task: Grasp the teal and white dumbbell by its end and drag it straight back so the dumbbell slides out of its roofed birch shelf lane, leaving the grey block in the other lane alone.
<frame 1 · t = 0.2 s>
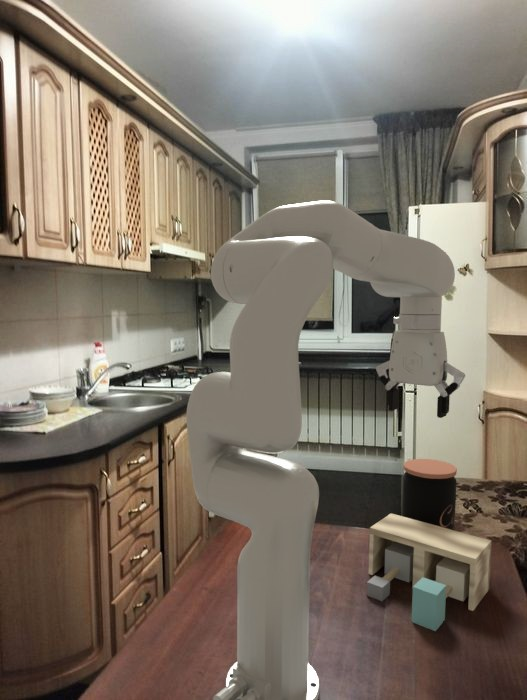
hand: (417, 413, 105), 31 cm above the table, fingers open, 9 cm apart
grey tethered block: (402, 573, 105), on the table
coffee jar: (426, 550, 115), on the table
birch shelf: (427, 581, 102), on the table
teal and white dumbbell: (454, 590, 99), on the table
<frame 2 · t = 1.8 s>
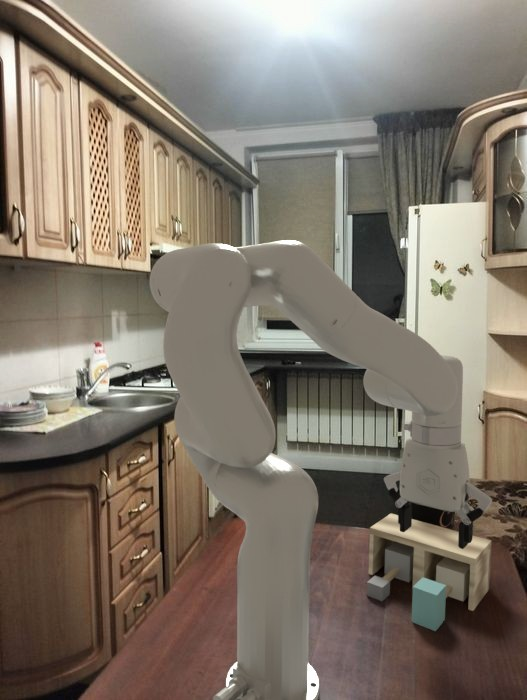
hand: (433, 537, 88), 14 cm above the table, fingers open, 9 cm apart
nothing on the table moved.
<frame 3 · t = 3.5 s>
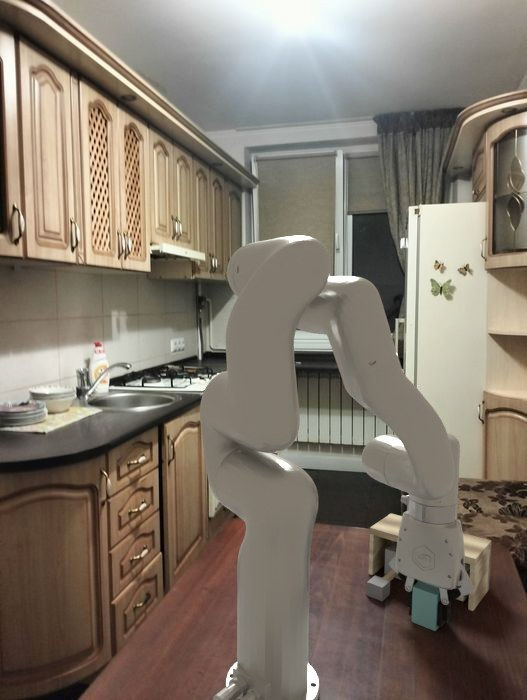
hand: (428, 616, 89), 1 cm above the table, fingers closed on teal and white dumbbell, 4 cm apart
teal and white dumbbell: (454, 590, 99), on the table, touching gripper
everything else where it was.
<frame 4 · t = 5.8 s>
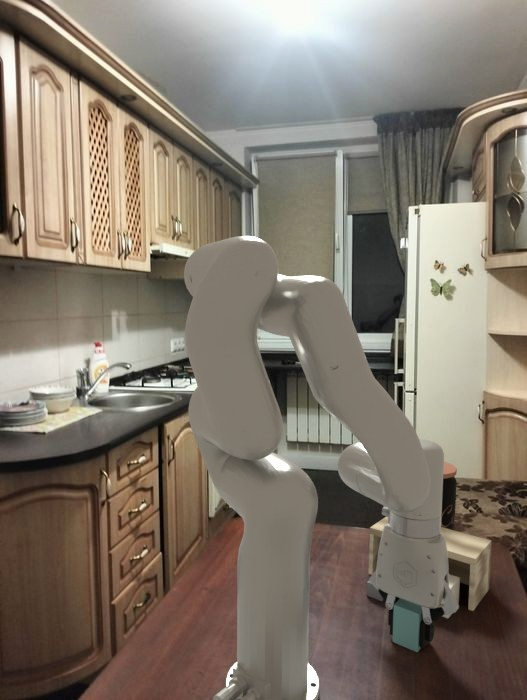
hand: (410, 636, 84), 1 cm above the table, fingers closed on teal and white dumbbell, 4 cm apart
teal and white dumbbell: (438, 606, 94), on the table, touching gripper
everything else where it was.
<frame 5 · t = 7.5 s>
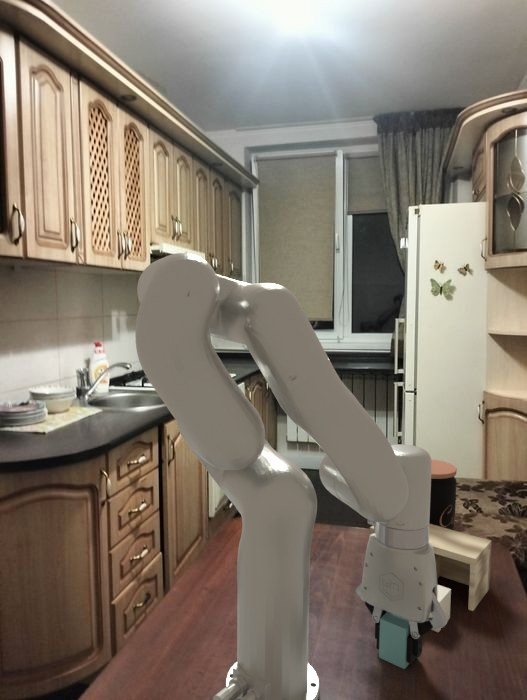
hand: (397, 650, 80), 1 cm above the table, fingers closed on teal and white dumbbell, 4 cm apart
teal and white dumbbell: (429, 619, 90), on the table, touching gripper
everything else where it was.
when the fingers open (1 cm above the table, at t = 8.1 s): teal and white dumbbell stays where it is, on the table.
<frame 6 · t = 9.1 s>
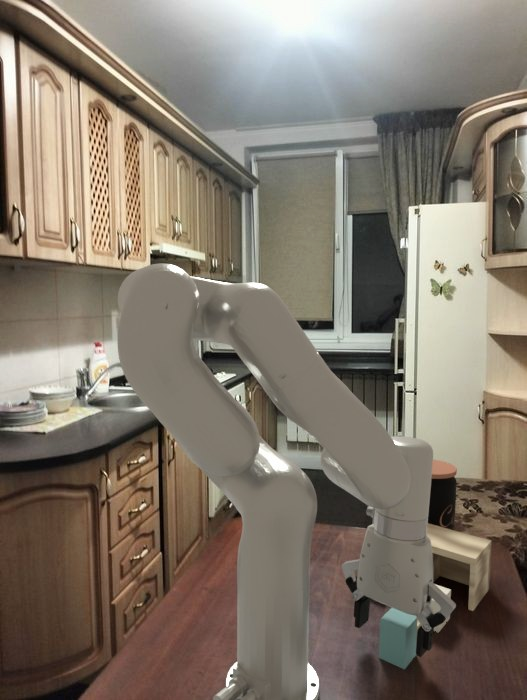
hand: (390, 637, 80), 3 cm above the table, fingers open, 9 cm apart
teal and white dumbbell: (429, 619, 90), on the table
everything else where it was.
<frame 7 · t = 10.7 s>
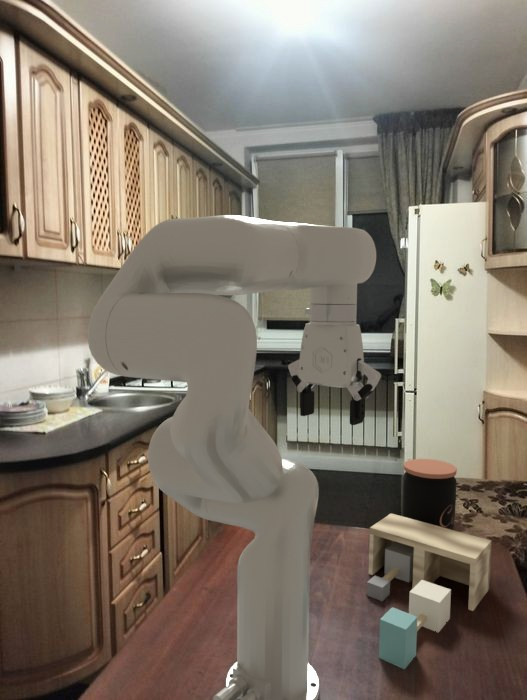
hand: (331, 419, 90), 33 cm above the table, fingers open, 9 cm apart
nothing on the table moved.
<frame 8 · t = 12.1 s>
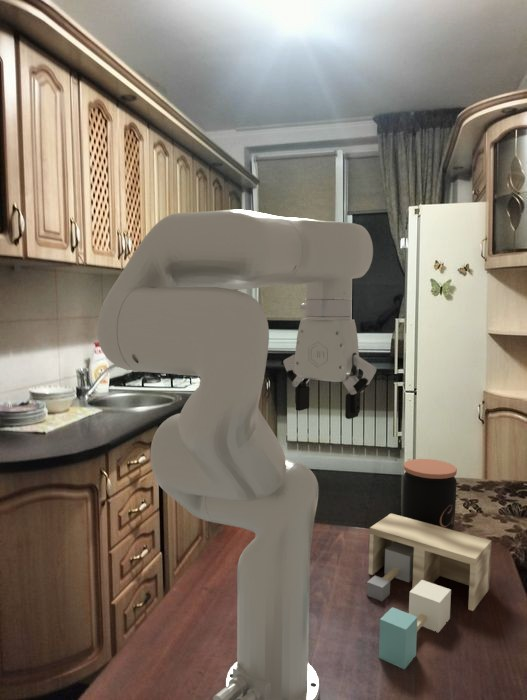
hand: (326, 413, 91), 33 cm above the table, fingers open, 9 cm apart
nothing on the table moved.
at the end: teal and white dumbbell inside the target area (1.3 cm from its centre), on the table; teal and white dumbbell tilted 0°; the gripper is holding nothing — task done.
